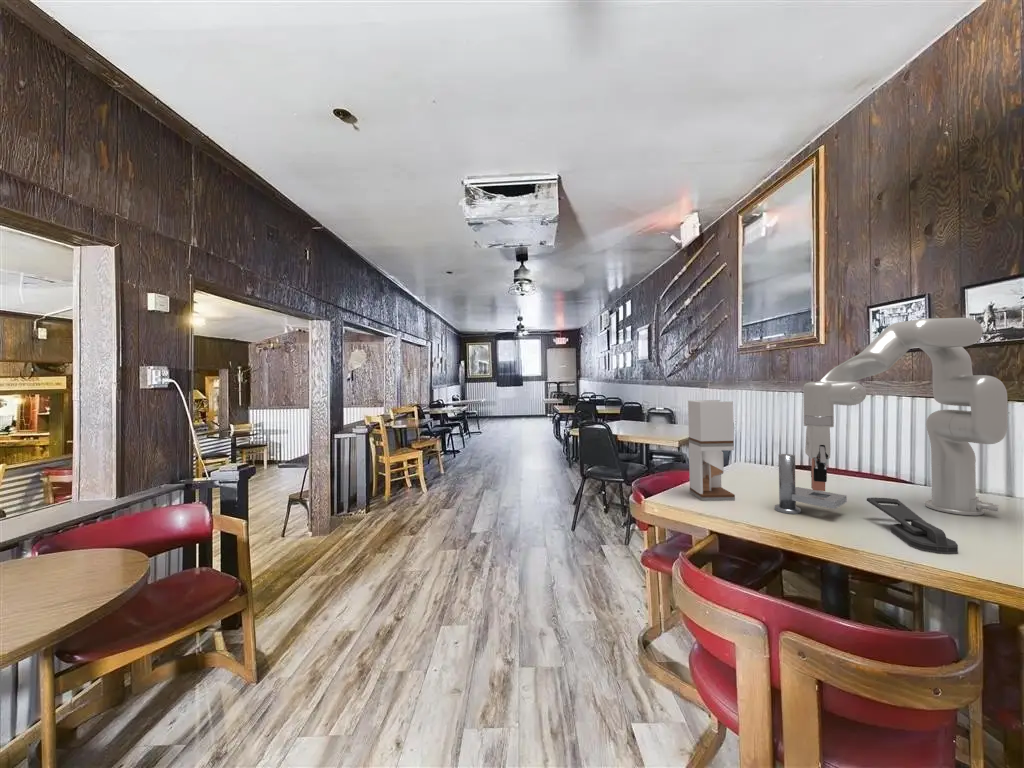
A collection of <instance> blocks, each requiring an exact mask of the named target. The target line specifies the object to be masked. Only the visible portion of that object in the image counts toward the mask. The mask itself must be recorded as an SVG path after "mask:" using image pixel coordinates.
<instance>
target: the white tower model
mask: <svg viewBox="0 0 1024 768" xmlns="http://www.w3.org/2000/svg"><path fill="white" fill-rule="evenodd" d="M687 402H688V403H687V407H688V408H687V409H688V410H687V412H688V414H687V416H688V419H687V420H688V459H689V462H688V465H689V467H688V469H689V493H690V494H691V495H693V496H694V497H696V498H697V499H699V501H702V502H711V501H712V502H715V501H716V502H720V501H722V502H725V501H727V502H728V501H736V497H735V496H736V494H734V493H732V492H730V491H729V490H727V489H725V488H723V487H722V475H723V474H724V472H725V471H724V452H723V451H734V450H735V447H734V446H735V442H734V441H735V439H734V438H735V437H734V436H735V434H734V401H731V400H730V401H720V399H702V400H687Z"/></svg>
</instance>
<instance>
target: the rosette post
mask: <svg viewBox="0 0 1024 768" xmlns="http://www.w3.org/2000/svg"><path fill="white" fill-rule="evenodd" d="M778 497H779V498H778V499H779V500H778V501H779V504H778V503H777V504H775V505H774V510H775V511H776V512H778V513H782V514H787V515H801V514H802V510H801V508H800V507H798V506H796V505H797V504H796V503H797V502H798V503H802V504H807V505H814V506H817V507H818V506H819V507H824V508H827V509H837V508H838V507H840V506H842V505H844V504H845V503H847V502H848V501H847V497H848V496H847V495H846V494H839V493H833V492H828V491H818V490H813V489H812V488H811V489H810V488H806V487H799V486H796V455H794V454H791V453H778Z"/></svg>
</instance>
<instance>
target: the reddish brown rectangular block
mask: <svg viewBox="0 0 1024 768" xmlns="http://www.w3.org/2000/svg"><path fill="white" fill-rule="evenodd" d="M817 458H820V457H817ZM818 461H819V460H817V462H818ZM811 466H812V472H811V471H810V477H811V481H810V483H811V485H810V486H811V487H810V488H811V489H812V490H818V491H823V492H826V482H819V481H814V468H815V457H814V458H813V459H812V465H811Z"/></svg>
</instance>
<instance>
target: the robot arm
mask: <svg viewBox="0 0 1024 768" xmlns="http://www.w3.org/2000/svg"><path fill="white" fill-rule="evenodd" d="M983 332H984V331H983V328H982V325H981V323H980V322H978V320H975V319H973V318H971V317H948V318H946V317H945V318H943V317H942V318H938V317H937V318H921V319H920V318H919V319H914V320H913V319H912V320H907V321H905V320H904V321H898V322H895V323H892V324H889V325H888V326H887V327H885V329H884V330H882V332H880V334H878V335H877V336H876V337H875V338H874V339H873V341H871V342H870V343H869V344H868V345H867V346H866V347H865V348H864V349H863V350H862V351H861V352H860V353H859V354H857V355H854V356H852V357H851V358H849V359H847V360H845V361H844V362H842V363H840V364H838V365H837V366H835V367H834V368H832V369H830V370H829V371H828V372H827V373H826V374H825V375H824V376H823V377H822V378H820V380H819V381H817V382H816V381H815V382H812V381H810V382H807V383H805V384H804V385H803V426H804V427H806V430H805V447H804V448H805V451H804V452H805V455H807V457H809V458H810V459H811V460H810V461H811V463H810V464H811V465H810V473H811V472H812V459H813V458H814V457H815V468H814V481H819V482H825V483H827V481H828V480H827V479H828V476H827V473H828V472H827V471H828V468H827V460H829V459H830V458H831V431H830V429H831V428H834V427H835V426H834V423H835V422H834V421H835V419H834V417H835V411H834V408H835V407H834V406H836V405H837V406H850V407H851V406H856V405H859V404H862V402H864V401H865V399H866V398H867V390H866V387H864V386H863V385H862V384H861V383H859V382H857V381H859V380H862V379H866V378H868V377H873V376H876V375H879V374H882V373H884V372H886V371H888V370H890V369H891V368H892V367H893V366H894V365H895V364H896V363H897V362H898V361H899V360H900V359H901V358H902V357H903V356H904V355H905V354H906V353H907V352H908V351H909V350H911V349H915V348H916V349H918V348H919V349H920V350H921V351H923V352H924V353H925V354H926V355H927V356H928V357H929V359H930V362H931V365H932V368H931V369H932V395H933V399H934V400H935V401H936V402H937V403H939V404H941V405H945V406H957V407H970V410H962V409H939V410H936V411H933V412H932V413H930V414H929V415H928V416H927V419H926V422H925V425H926V427H925V428H926V431H927V435H928V438H929V443H930V456H931V457H930V464H931V467H930V469H931V470H930V472H931V473H930V474H931V475H930V476H931V479H930V480H931V499H930V500H926V501H924V505H925V507H927V508H929V509H932V510H934V511H938V512H942V513H946V514H952V515H953V514H954V515H960V516H961V515H963V516H982V515H984V513H985V510H989V511H992V512H999V505H998V504H994V503H991V502H984V501H982V500H979V499H980V497H979V496H977V495H976V494H977V490H976V487H977V486H976V485H977V483H976V482H977V481H976V480H977V479H976V477H977V476H976V453H975V451H974V448H973V447H972V445H971V444H970V443H974V444H979V445H980V444H981V445H995V444H997V443H1000V442H1001V441H1003V439H1004V438H1005V437H1006V434H1007V431H1008V391H1007V388H1006V386H1005V384H1004V383H1003V381H1001V380H1000V379H998V377H995V376H992V375H986V374H981V375H980V374H976V375H975V374H973V364H972V358H971V356H970V354H969V352H968V351H967V350H966V349H965V348H964V347H969V346H972V345H974V344H976V343H977V342H978V341H980V339H981V338H982V336H983ZM817 457H820V458H817ZM817 460H819V461H818V462H817Z"/></svg>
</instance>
